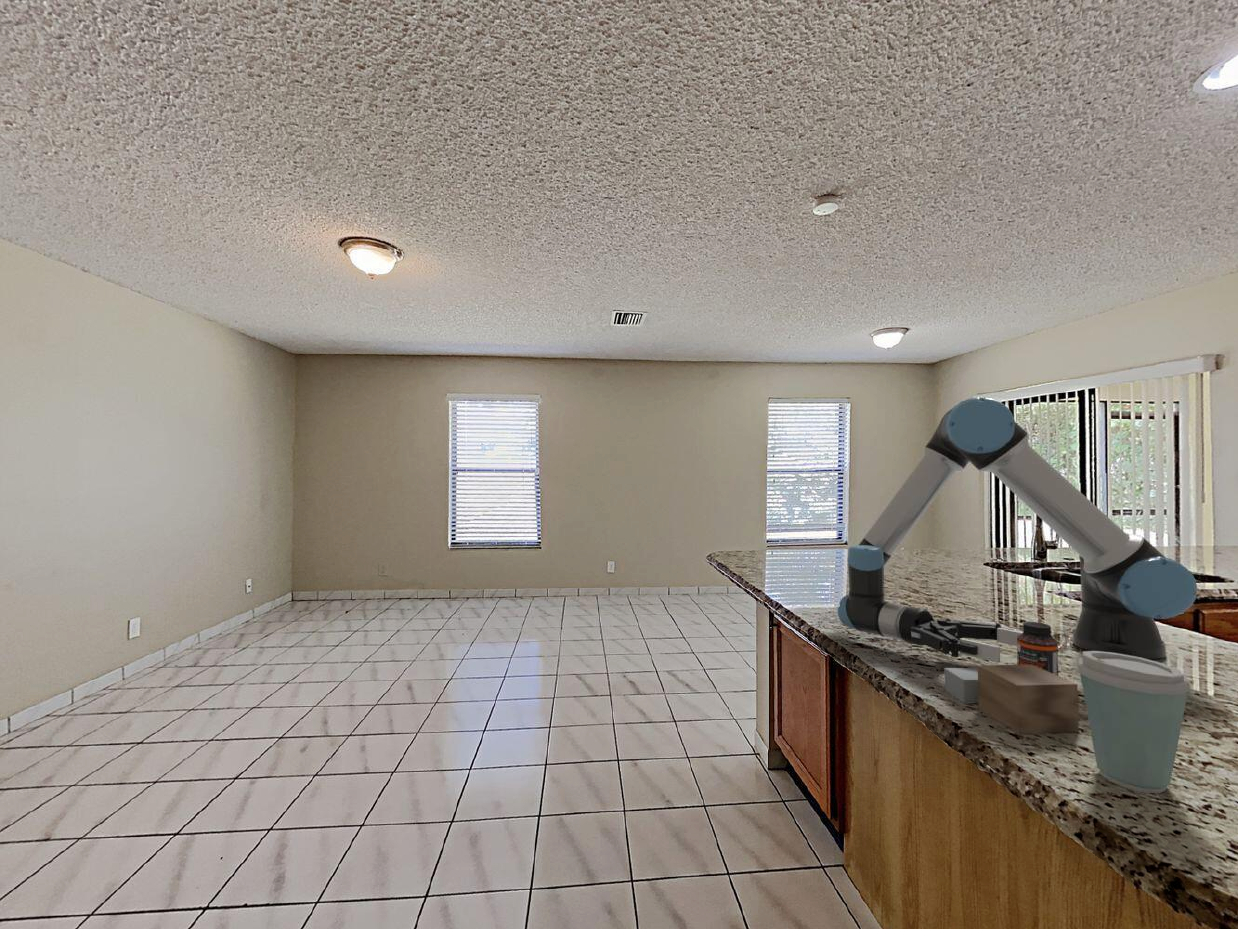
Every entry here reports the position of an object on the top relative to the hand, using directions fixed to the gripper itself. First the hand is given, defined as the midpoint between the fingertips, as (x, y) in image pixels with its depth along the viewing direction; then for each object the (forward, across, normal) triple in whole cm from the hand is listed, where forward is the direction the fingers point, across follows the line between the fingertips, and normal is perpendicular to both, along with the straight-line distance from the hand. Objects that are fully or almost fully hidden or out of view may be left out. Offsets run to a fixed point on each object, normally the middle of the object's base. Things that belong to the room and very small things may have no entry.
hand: (1018, 648), depth 104 cm
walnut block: (+8, +16, -6) cm, 19 cm away
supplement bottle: (+3, 0, -7) cm, 7 cm away
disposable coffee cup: (+24, +25, -7) cm, 35 cm away
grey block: (-1, +13, -7) cm, 15 cm away
